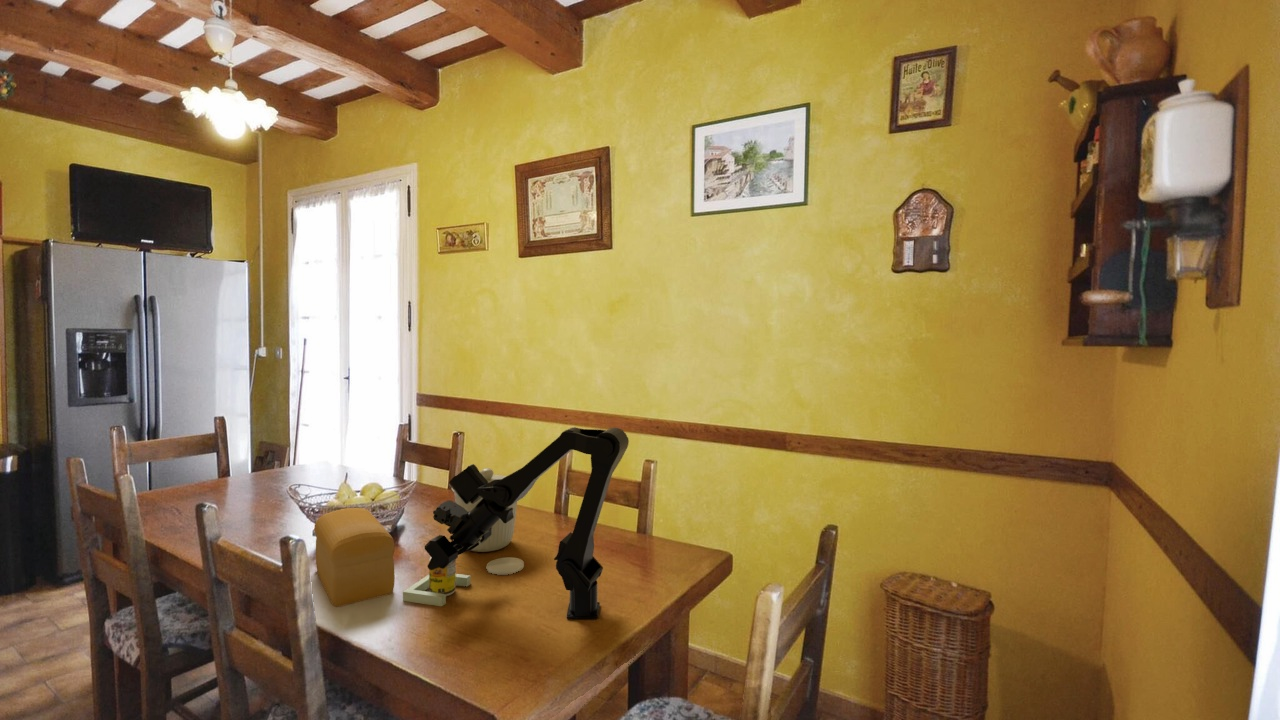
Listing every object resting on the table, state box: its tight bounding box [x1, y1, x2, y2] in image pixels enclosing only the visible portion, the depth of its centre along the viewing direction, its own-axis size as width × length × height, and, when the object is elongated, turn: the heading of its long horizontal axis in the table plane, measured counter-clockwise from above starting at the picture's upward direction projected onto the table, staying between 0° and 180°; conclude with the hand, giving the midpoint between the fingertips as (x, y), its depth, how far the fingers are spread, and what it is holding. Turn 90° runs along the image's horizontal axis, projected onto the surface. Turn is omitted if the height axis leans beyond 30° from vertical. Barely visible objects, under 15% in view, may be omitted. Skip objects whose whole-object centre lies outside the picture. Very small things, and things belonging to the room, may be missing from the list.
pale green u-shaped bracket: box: [402, 573, 472, 607], centre depth 134 cm, size 10×12×2 cm
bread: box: [313, 507, 396, 608], centre depth 139 cm, size 24×13×15 cm, turn 36°
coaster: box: [486, 556, 525, 576], centre depth 148 cm, size 9×9×1 cm
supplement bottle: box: [428, 556, 457, 597], centre depth 133 cm, size 6×6×10 cm
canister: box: [451, 467, 518, 553], centre depth 162 cm, size 18×18×21 cm
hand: (436, 563), depth 134 cm, fingers closed on supplement bottle, 5 cm apart
